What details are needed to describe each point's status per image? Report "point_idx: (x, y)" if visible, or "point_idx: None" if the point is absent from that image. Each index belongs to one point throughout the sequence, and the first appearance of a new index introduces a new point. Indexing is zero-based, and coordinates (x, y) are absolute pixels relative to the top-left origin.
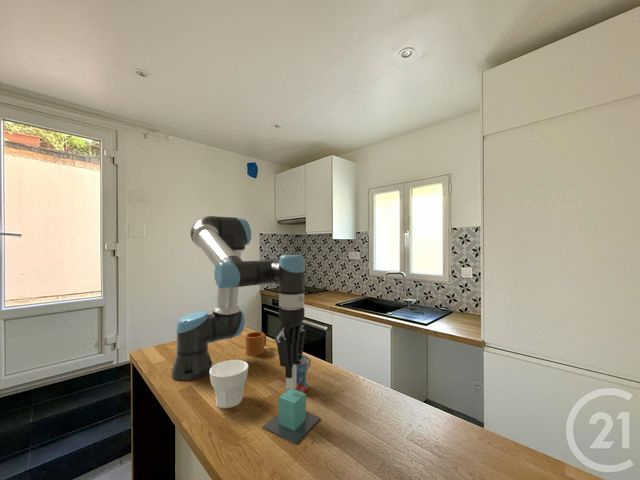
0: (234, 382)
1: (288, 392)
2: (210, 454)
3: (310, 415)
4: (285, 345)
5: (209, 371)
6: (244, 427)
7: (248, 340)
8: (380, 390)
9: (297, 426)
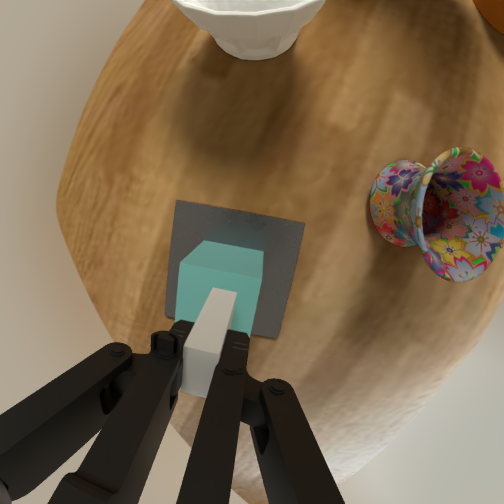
0: (203, 24)
1: (227, 284)
2: (74, 148)
3: (276, 311)
4: (32, 478)
5: None
6: (162, 149)
7: None
8: (422, 405)
9: None
